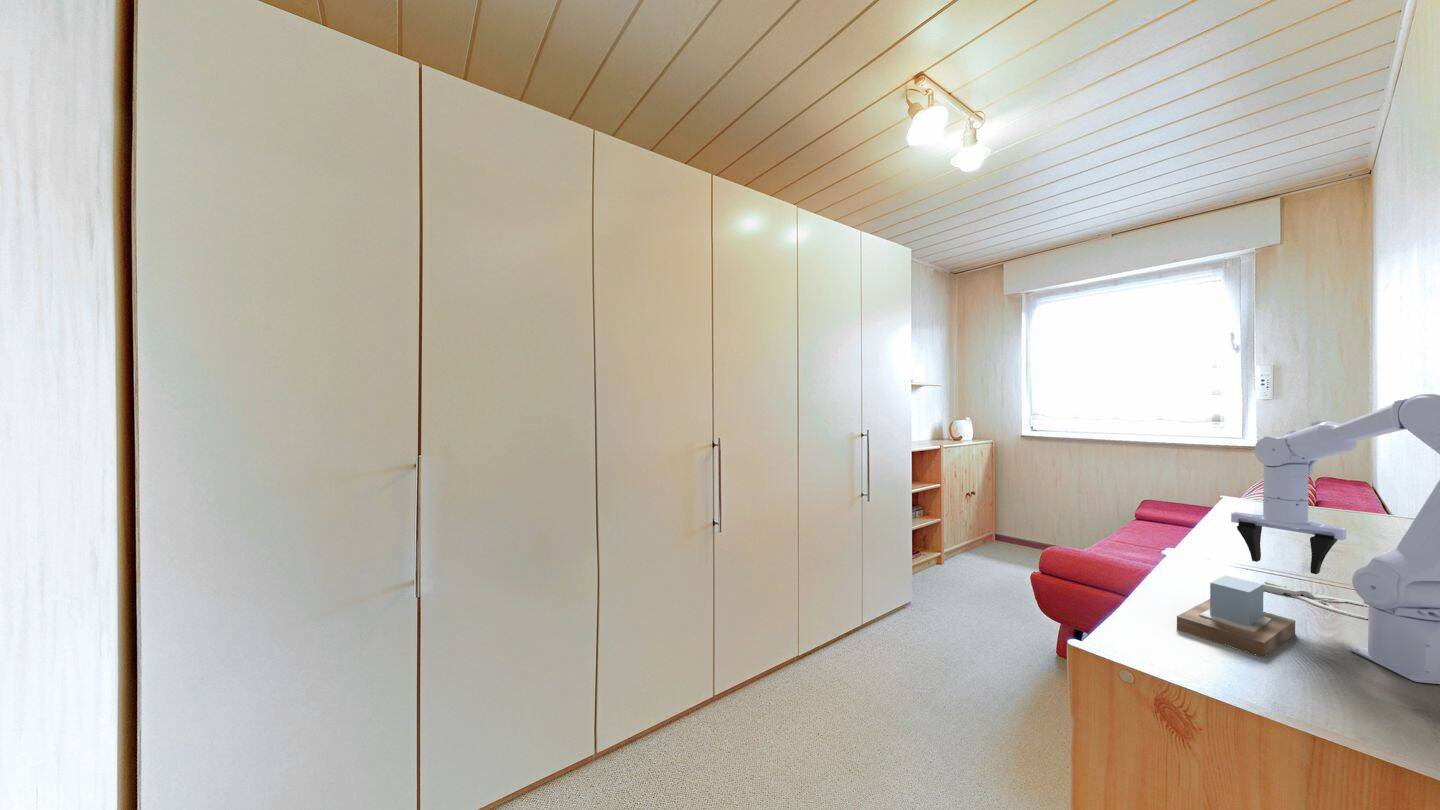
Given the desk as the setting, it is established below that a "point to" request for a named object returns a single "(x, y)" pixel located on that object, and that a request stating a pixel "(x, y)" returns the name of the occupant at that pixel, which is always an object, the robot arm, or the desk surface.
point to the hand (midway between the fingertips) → (1284, 566)
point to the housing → (1236, 600)
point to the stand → (1237, 630)
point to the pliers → (1295, 593)
